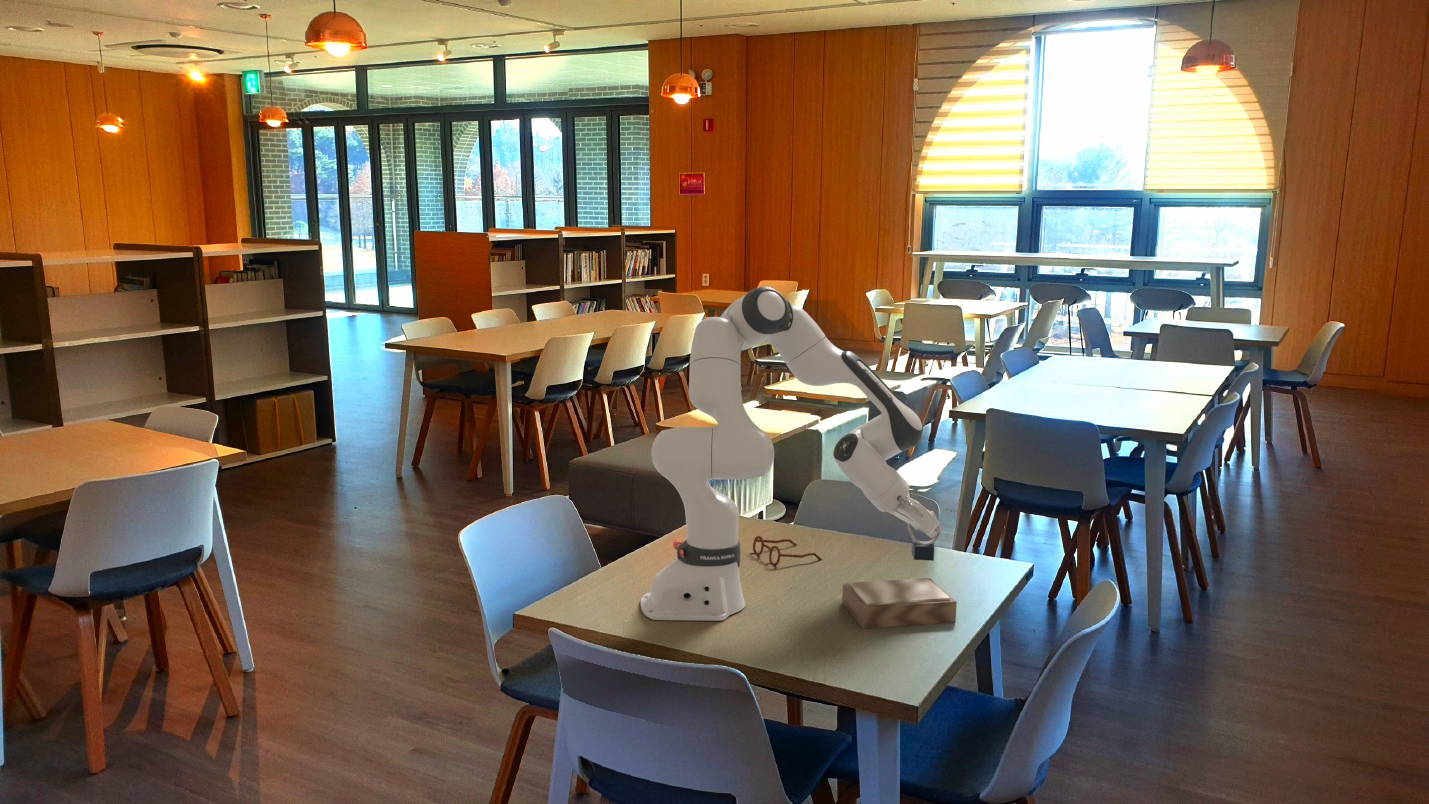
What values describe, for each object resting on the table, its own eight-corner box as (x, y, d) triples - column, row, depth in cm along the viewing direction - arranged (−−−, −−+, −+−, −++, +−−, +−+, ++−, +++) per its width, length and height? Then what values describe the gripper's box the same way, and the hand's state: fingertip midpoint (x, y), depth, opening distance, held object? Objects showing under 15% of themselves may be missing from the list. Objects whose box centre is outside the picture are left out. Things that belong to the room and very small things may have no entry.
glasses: (751, 553, 255) (751, 534, 254) (796, 546, 260) (797, 527, 259) (776, 569, 243) (777, 549, 242) (823, 562, 249) (824, 542, 248)
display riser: (863, 628, 207) (863, 605, 206) (842, 603, 220) (842, 581, 219) (955, 622, 210) (956, 599, 209) (929, 597, 224) (930, 576, 223)
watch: (942, 561, 228) (944, 512, 227) (906, 559, 229) (908, 511, 228) (939, 555, 234) (941, 508, 233) (904, 553, 235) (906, 506, 234)
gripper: (920, 492, 217) (959, 533, 221) (878, 472, 236) (914, 510, 241) (901, 514, 217) (940, 555, 221) (860, 492, 236) (897, 529, 240)
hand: (926, 531), depth 231 cm, fingers closed on watch, 4 cm apart
